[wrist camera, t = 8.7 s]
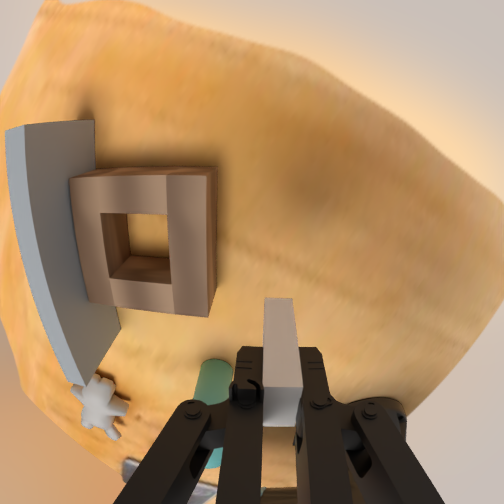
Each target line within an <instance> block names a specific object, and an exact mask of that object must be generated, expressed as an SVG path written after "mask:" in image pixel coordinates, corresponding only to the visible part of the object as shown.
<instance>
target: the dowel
mask: <svg viewBox="0 0 504 504" xmlns="http://www.w3.org/2000/svg"><path fill="white" fill-rule="evenodd" d="M232 376H233V369H232V367H231V366H230V365H229V364H228V363H226V362H225V361H222V360H218V359H210V360H207V361H205V362H203V364H202V365H201V369H200V373H199V377H198V381H197V385H196V389H195V393H194V397H193V399H195V400H200V401H202V402H204V403H206V404H207V405H212V404H217V403H221V402H223V401H225V400H226V399H228V398H229V386H230V383H231V382H232ZM222 451H223V447H222V448H217V449H214V451H213V453H212V455H211V457H210V459H209V461H208V463H207V465H206V467H205V468H207V469H210V468H216V467H219V466H220V465H221V459H222Z"/></svg>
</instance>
